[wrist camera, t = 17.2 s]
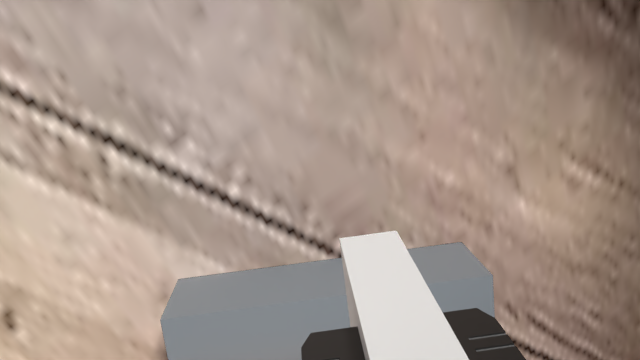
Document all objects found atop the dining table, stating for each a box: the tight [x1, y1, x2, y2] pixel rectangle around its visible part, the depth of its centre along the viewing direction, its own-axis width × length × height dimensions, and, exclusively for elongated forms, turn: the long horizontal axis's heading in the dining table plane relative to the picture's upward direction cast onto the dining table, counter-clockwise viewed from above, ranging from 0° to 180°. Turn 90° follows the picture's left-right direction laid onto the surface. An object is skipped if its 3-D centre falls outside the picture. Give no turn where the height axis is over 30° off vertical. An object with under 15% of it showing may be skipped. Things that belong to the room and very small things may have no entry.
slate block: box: [160, 242, 495, 360], centre depth 38 cm, size 20×12×6 cm, turn 96°
